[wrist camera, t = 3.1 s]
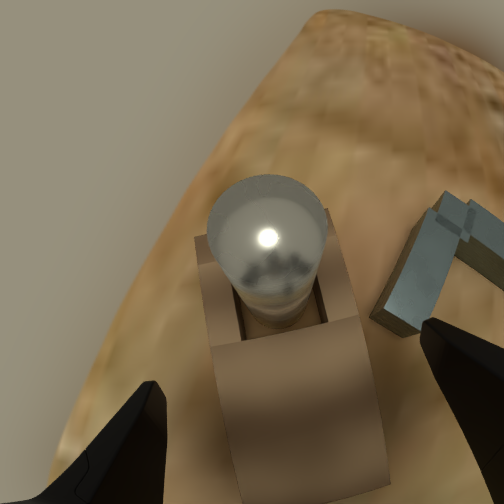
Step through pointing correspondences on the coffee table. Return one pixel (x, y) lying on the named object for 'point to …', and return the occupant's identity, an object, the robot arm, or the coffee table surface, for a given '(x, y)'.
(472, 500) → the coffee table surface
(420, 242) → the v block
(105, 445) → the robot arm
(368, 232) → the coffee table surface
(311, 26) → the coffee table surface
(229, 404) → the slotted block
